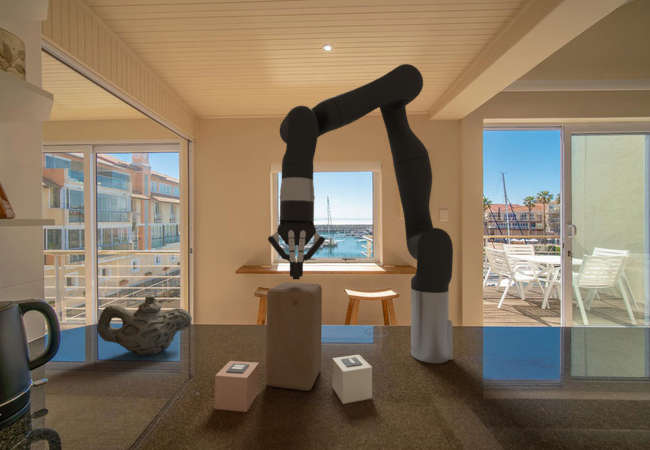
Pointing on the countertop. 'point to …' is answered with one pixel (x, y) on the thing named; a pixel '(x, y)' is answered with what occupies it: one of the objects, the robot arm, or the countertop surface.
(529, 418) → the countertop surface
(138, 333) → the teapot
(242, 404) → the pink cube
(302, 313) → the wooden block
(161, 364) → the countertop surface
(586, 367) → the countertop surface
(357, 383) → the cream cube
